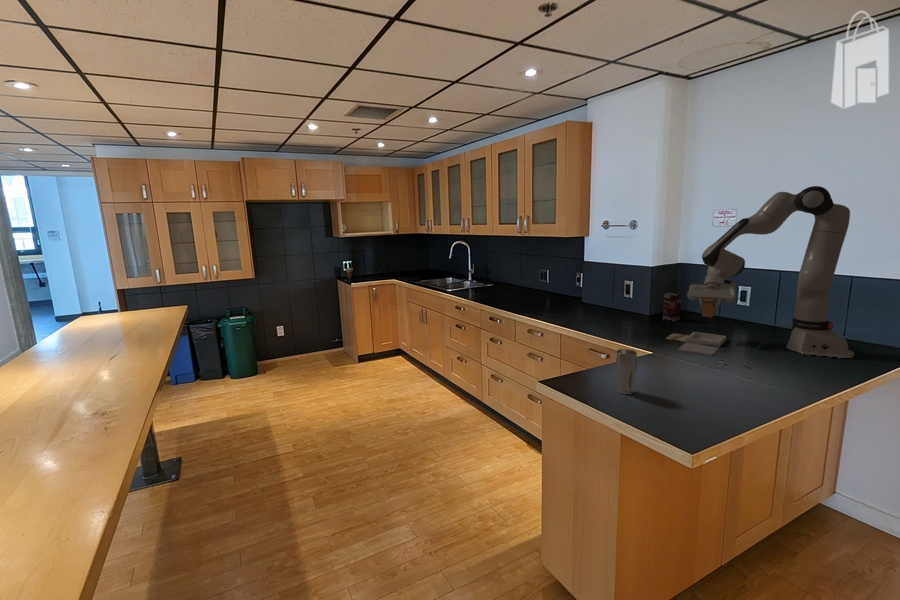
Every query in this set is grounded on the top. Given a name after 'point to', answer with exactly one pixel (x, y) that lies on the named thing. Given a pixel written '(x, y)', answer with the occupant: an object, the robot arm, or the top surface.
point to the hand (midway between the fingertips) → (708, 307)
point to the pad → (677, 337)
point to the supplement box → (671, 306)
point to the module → (708, 307)
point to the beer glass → (626, 370)
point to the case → (702, 343)
